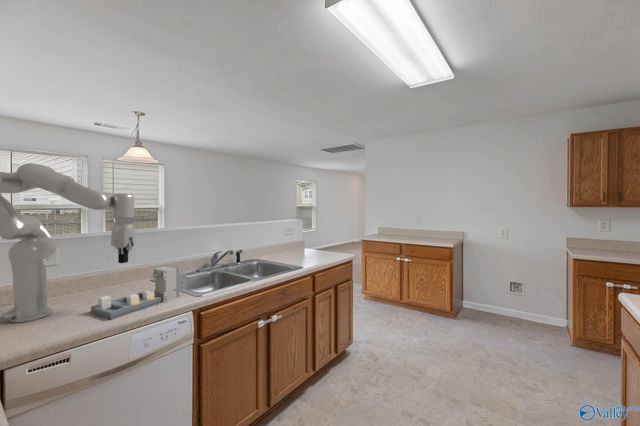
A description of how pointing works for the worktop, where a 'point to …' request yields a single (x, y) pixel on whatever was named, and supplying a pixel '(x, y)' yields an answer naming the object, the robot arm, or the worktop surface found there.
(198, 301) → the worktop surface
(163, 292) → the circuit breaker
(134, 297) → the tab
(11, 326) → the worktop surface
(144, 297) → the tab
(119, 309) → the switch bank
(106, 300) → the tab
